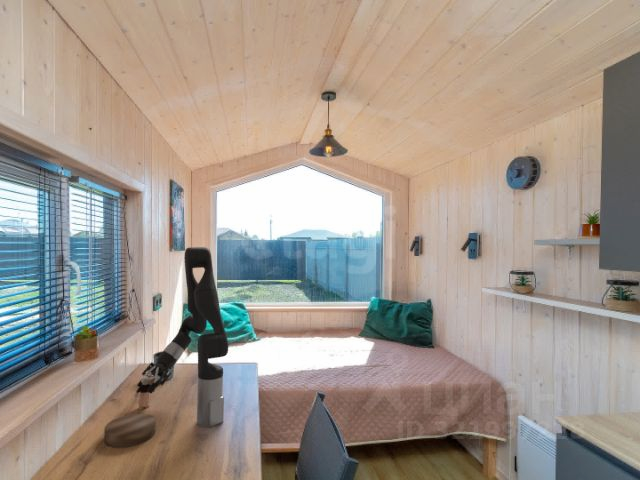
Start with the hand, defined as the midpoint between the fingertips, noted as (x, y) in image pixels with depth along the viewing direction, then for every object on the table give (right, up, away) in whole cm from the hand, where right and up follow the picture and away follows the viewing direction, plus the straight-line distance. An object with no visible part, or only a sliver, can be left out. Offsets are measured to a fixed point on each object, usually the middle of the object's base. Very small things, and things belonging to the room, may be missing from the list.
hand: (143, 389), depth 151 cm
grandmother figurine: (0, -7, 0) cm, 8 cm away
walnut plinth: (+6, -7, -22) cm, 24 cm away
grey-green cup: (-6, -8, +33) cm, 34 cm away
